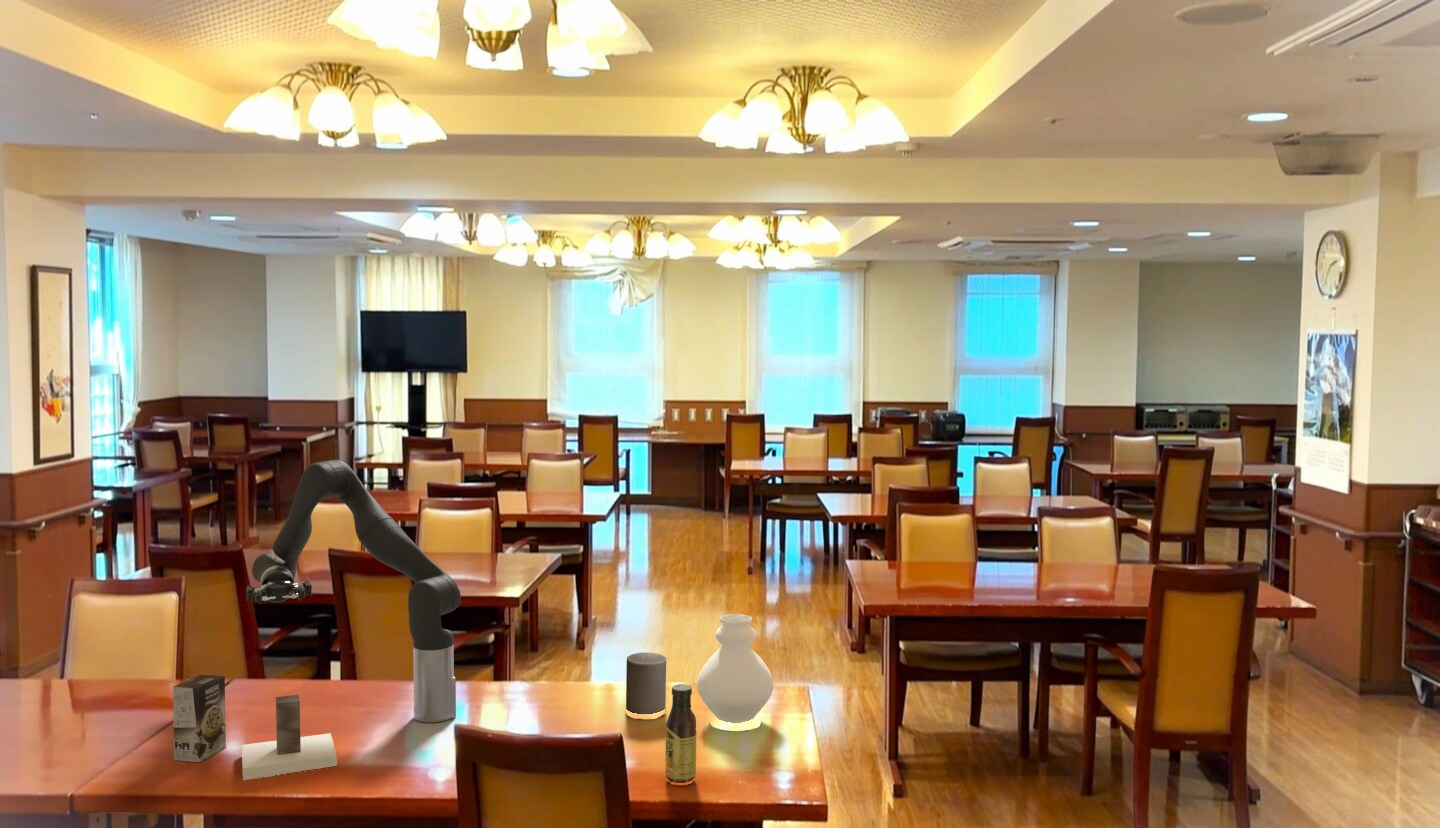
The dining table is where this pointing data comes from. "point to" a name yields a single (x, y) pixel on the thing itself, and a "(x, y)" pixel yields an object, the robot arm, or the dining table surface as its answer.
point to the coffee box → (199, 718)
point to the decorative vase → (735, 673)
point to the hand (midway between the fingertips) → (280, 597)
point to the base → (287, 757)
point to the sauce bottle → (681, 737)
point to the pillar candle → (646, 683)
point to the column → (288, 724)
